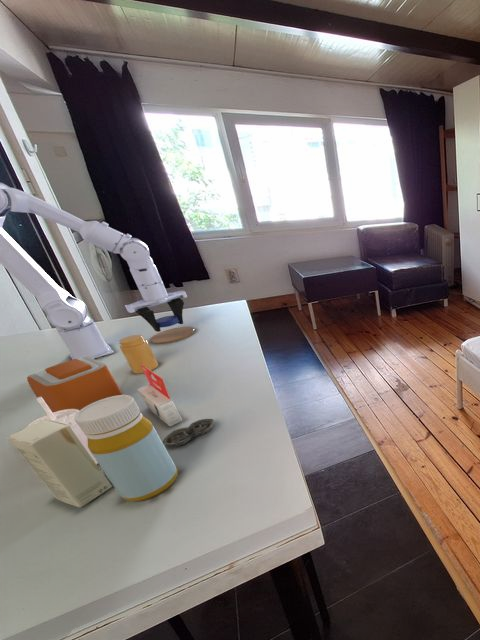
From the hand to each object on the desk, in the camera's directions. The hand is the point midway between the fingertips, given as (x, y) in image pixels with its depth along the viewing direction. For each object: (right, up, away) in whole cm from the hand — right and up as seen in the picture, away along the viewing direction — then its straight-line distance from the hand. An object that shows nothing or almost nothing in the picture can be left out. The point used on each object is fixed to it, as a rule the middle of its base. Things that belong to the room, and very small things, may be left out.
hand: (169, 327), depth 110 cm
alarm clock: (+17, -22, -37) cm, 46 cm away
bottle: (+40, -28, -53) cm, 72 cm away
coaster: (0, -2, +1) cm, 3 cm away
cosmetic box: (+31, -29, -53) cm, 68 cm away
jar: (+8, -12, -17) cm, 22 cm away
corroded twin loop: (+39, -23, -42) cm, 61 cm away
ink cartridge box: (+29, -20, -36) cm, 50 cm away
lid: (0, +2, -1) cm, 2 cm away
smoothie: (+25, -27, -48) cm, 60 cm away
